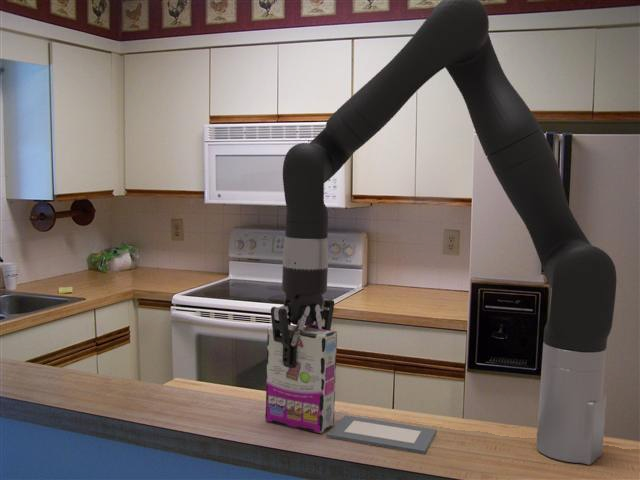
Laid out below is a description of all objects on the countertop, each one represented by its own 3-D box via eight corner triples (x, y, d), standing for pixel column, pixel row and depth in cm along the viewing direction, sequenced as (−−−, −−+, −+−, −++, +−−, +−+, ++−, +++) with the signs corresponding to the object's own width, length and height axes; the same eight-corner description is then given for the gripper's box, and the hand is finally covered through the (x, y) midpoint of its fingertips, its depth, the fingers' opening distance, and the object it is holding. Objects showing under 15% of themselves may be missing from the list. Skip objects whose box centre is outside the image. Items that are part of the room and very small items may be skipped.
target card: (436, 432, 114) (436, 428, 114) (425, 454, 105) (425, 450, 104) (345, 417, 119) (345, 414, 119) (326, 437, 110) (327, 433, 110)
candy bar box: (335, 425, 115) (338, 330, 114) (321, 435, 111) (325, 336, 109) (279, 412, 120) (281, 322, 119) (263, 421, 116) (266, 327, 114)
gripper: (293, 270, 105) (289, 377, 107) (349, 263, 116) (345, 360, 118) (258, 265, 110) (255, 367, 111) (315, 259, 121) (312, 352, 123)
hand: (301, 363), depth 115 cm, fingers closed on candy bar box, 5 cm apart
